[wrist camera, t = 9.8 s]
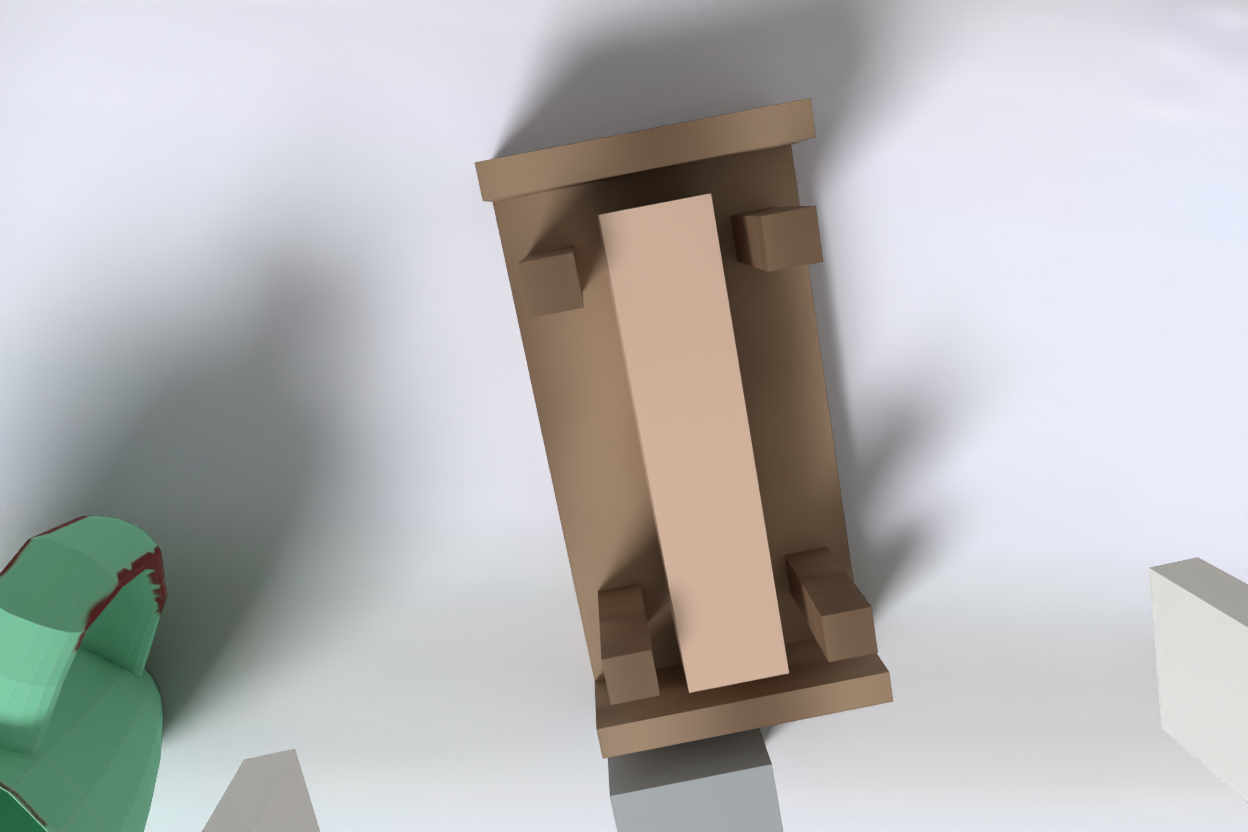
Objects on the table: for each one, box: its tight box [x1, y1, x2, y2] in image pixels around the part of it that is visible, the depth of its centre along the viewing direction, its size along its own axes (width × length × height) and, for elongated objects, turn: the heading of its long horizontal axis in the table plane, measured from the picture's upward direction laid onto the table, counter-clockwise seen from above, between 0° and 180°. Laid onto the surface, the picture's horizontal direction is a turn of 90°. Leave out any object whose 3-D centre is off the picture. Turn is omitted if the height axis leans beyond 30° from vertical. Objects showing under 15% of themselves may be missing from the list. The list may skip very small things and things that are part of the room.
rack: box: [475, 98, 893, 759], centre depth 28 cm, size 9×18×6 cm, turn 11°
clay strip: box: [596, 193, 789, 693], centre depth 28 cm, size 3×14×4 cm, turn 11°
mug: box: [0, 516, 167, 832], centre depth 27 cm, size 15×10×10 cm
